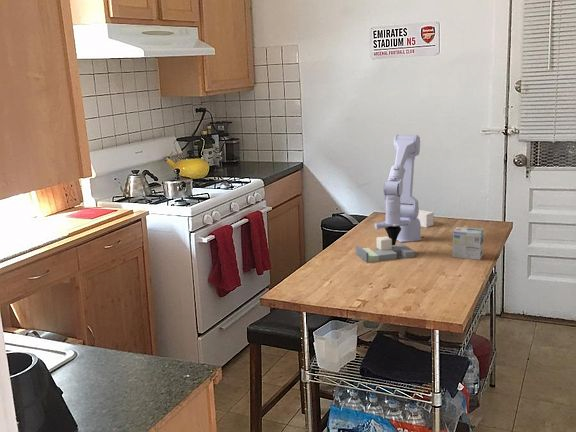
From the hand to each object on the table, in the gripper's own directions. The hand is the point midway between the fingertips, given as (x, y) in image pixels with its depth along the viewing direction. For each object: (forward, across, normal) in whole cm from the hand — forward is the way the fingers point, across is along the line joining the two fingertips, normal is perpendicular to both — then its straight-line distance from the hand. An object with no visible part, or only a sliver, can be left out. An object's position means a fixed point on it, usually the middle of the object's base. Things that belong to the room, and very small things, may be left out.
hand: (392, 244), depth 262 cm
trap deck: (+3, -4, -3) cm, 6 cm away
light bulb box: (+3, +25, -15) cm, 29 cm away
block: (+1, -4, 0) cm, 4 cm away
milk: (0, +32, +31) cm, 44 cm away
